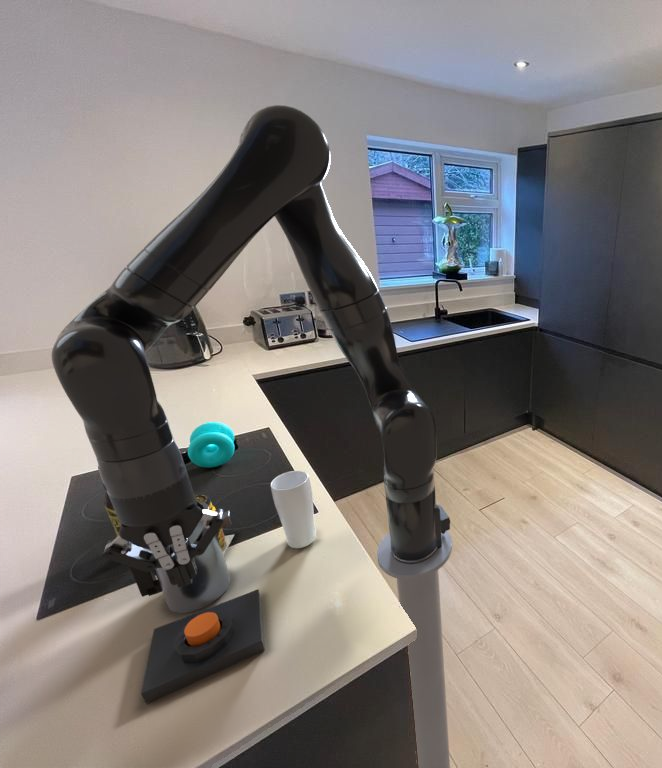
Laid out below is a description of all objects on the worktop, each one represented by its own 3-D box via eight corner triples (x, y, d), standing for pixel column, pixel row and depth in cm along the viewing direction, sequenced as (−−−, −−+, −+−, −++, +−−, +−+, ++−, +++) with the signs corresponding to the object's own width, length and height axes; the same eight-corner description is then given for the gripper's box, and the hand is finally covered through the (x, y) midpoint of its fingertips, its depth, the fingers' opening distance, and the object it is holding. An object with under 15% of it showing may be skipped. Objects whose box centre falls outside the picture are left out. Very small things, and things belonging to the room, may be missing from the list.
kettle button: (221, 617, 62) (217, 607, 62) (220, 637, 59) (216, 627, 59) (189, 629, 60) (185, 620, 60) (186, 651, 57) (182, 641, 57)
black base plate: (261, 598, 70) (256, 581, 68) (264, 650, 61) (259, 632, 60) (158, 638, 63) (150, 620, 61) (146, 704, 54) (136, 685, 53)
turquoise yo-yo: (193, 474, 104) (182, 440, 100) (195, 456, 112) (185, 425, 108) (238, 463, 109) (229, 431, 106) (237, 447, 117) (229, 416, 113)
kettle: (246, 558, 78) (225, 485, 72) (247, 591, 71) (224, 513, 65) (153, 590, 71) (121, 511, 65) (144, 630, 64) (107, 546, 58)
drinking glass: (327, 535, 84) (316, 475, 79) (299, 557, 79) (286, 494, 73) (305, 525, 87) (293, 466, 82) (276, 545, 81) (261, 484, 76)
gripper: (213, 450, 56) (241, 546, 63) (83, 479, 49) (129, 583, 56) (211, 477, 50) (241, 579, 57) (63, 513, 44) (117, 625, 50)
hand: (185, 581), depth 56 cm, fingers closed
